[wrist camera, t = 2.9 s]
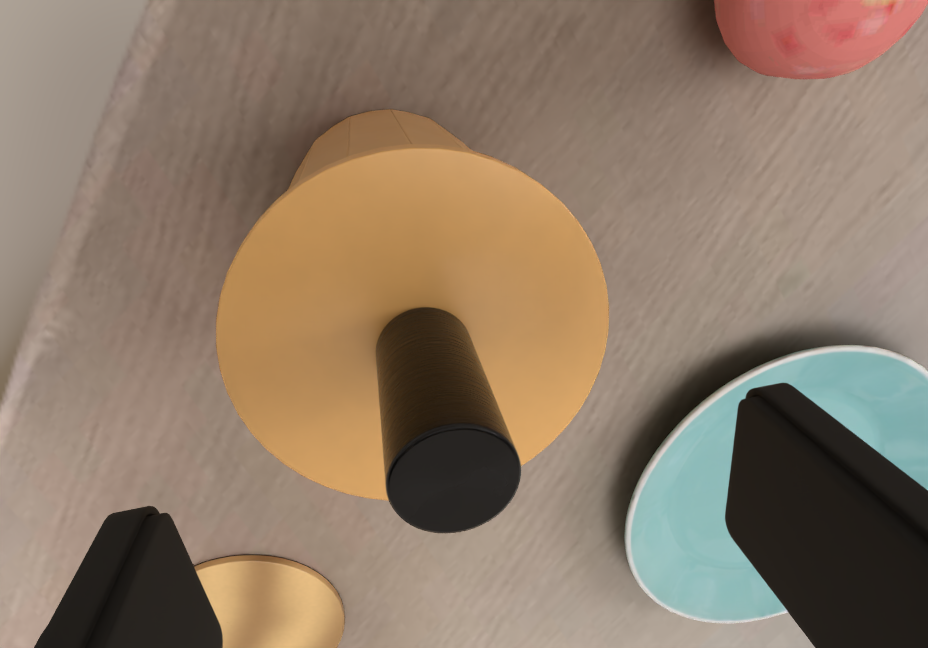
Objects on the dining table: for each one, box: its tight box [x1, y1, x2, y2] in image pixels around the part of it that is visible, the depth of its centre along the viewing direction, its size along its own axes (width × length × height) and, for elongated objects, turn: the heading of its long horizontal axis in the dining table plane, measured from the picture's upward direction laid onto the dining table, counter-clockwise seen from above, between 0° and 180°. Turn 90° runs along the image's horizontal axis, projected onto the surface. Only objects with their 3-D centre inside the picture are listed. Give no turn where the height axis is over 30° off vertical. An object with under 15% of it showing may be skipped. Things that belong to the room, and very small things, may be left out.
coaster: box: [194, 555, 345, 648], centre depth 37 cm, size 12×12×1 cm
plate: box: [624, 345, 928, 623], centre depth 38 cm, size 22×22×3 cm
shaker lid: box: [216, 144, 609, 533], centre depth 13 cm, size 10×10×6 cm
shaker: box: [288, 109, 472, 190], centre depth 21 cm, size 9×9×14 cm
